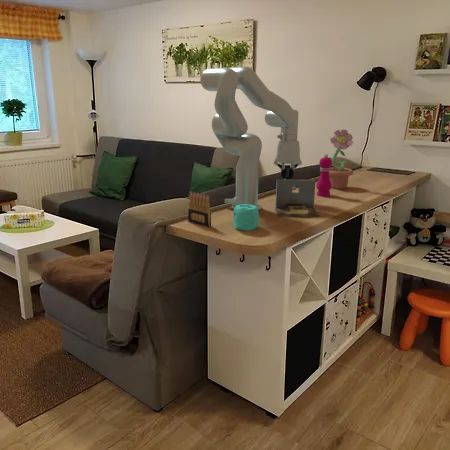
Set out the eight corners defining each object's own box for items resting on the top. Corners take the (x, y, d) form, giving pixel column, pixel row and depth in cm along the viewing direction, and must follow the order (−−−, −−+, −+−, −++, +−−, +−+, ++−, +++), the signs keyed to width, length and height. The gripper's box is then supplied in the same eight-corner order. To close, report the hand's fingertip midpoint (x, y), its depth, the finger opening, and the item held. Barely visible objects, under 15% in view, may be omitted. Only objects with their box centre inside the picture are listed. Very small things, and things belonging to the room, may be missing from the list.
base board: (279, 216, 183) (279, 213, 182) (275, 209, 193) (275, 207, 193) (318, 216, 184) (318, 213, 183) (312, 209, 194) (312, 206, 194)
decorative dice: (254, 224, 172) (254, 203, 170) (258, 230, 164) (259, 209, 162) (233, 225, 171) (233, 204, 169) (237, 231, 163) (237, 209, 161)
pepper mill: (320, 197, 217) (322, 155, 212) (313, 194, 224) (315, 153, 218) (333, 196, 219) (336, 154, 213) (326, 193, 226) (329, 152, 220)
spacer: (287, 209, 189) (290, 213, 182) (287, 205, 189) (291, 210, 182) (304, 209, 190) (308, 213, 183) (304, 205, 189) (308, 210, 182)
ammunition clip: (211, 226, 169) (211, 194, 166) (207, 227, 168) (207, 195, 165) (191, 220, 176) (191, 190, 173) (188, 221, 175) (187, 191, 172)
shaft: (290, 189, 194) (291, 171, 192) (283, 182, 211) (284, 164, 209) (296, 189, 194) (297, 171, 192) (289, 182, 211) (290, 164, 209)
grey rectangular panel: (276, 208, 191) (277, 180, 188) (275, 207, 193) (276, 179, 190) (313, 208, 192) (315, 180, 189) (312, 206, 194) (314, 179, 190)
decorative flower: (322, 189, 235) (326, 130, 226) (323, 184, 247) (327, 128, 239) (352, 191, 231) (357, 131, 223) (351, 185, 244) (356, 129, 236)
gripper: (272, 138, 200) (270, 179, 205) (308, 138, 201) (306, 179, 206) (269, 137, 207) (268, 176, 212) (305, 137, 208) (302, 176, 213)
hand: (287, 177), depth 209 cm, fingers closed on shaft, 2 cm apart
